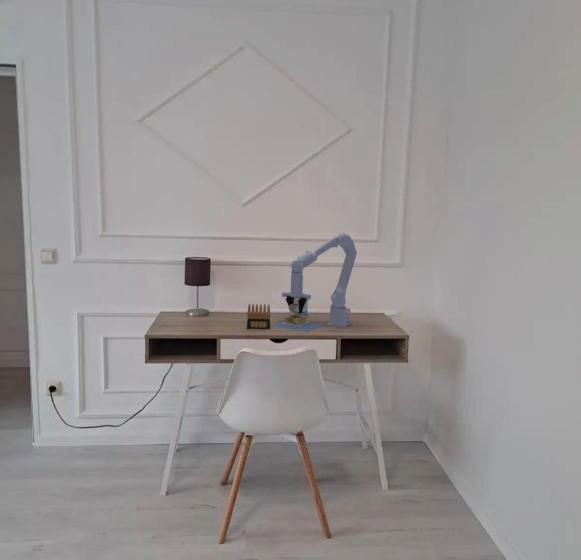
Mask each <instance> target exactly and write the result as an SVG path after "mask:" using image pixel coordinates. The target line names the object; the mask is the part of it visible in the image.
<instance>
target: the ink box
mask: <svg viewBox="0 0 581 560" xmlns="http://www.w3.org/2000/svg"><path fill="white" fill-rule="evenodd" d="M302 294H304V293H303V292H302ZM305 294H306V295H309V294H307V293H305ZM299 299H300V298H294V303H295V304H299V302H298V300H299ZM308 301H309V300H307V301H306V303H305V305H304V308H303V311H302V315H301V316H307V317H308V308H309V307H308V305H309V303H308Z"/></svg>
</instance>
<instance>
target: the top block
mask: <svg viewBox="0 0 581 560" xmlns="http://www.w3.org/2000/svg"><path fill="white" fill-rule="evenodd" d="M289 315H293V316H300V315H302V313H301V314H299V304H295V303H294V304H291V305H290V310H289Z"/></svg>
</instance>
